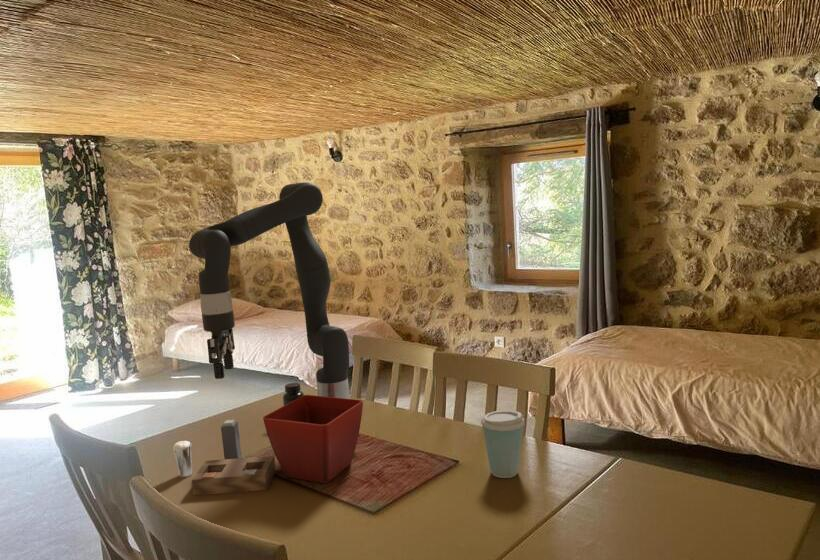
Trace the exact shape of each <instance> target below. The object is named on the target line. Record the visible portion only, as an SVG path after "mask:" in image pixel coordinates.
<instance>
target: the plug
mask: <svg viewBox="0 0 820 560" xmlns="http://www.w3.org/2000/svg"><path fill="white" fill-rule="evenodd" d="M235 420H236V419H226V420H225V421H224V422H223V424H222V425H221V426H220V432H221V438H222V439H221V440H222V450H223V456H224V457H223V458H224V459H237V458H243V456H242V448H241V438H240V432H239V431H240V429H239V421H235ZM224 459H223V460H224Z"/></svg>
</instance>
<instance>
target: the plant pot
mask: <svg viewBox="0 0 820 560" xmlns="http://www.w3.org/2000/svg"><path fill="white" fill-rule="evenodd" d="M363 405H364V401H363V400H361V399H353V398H350V399H345V398H335V397H324V396H318V395H314V394H313V395H311V394H304V396H301V397H299V398H298V399H296V400H294V401H292V402H290V403H288V404H286V405H285V406H284V405H283V406H281V407H279V408H277V409H276V410H274V411H271V412H270V413H268V414H266V415H264V416H263V417H262V419H263V423H264V427H265V431H266V434H267V437H268V439H269V443H270V445H271V448H272V451H273V453H274V457H275V458H276V460H277V461H278V464H279V465H280V468H281V469H282V471H283V473H284V475H285V476H286V477H287V478H292V479H297V480H304V481H308V482H315V483H321V484H327V483H329V482H331V480H333V479H334V478H335V477H337V475H339V474H340V473H342V471H345V469H347V467H349V466H350V465H351V464H352V462H353V459H354V454H355V451H356V447H357V443H358V441H359V440H358V439H359V435H360V430H361V429H360V428H361V423H362V416H363V407H364V406H363Z"/></svg>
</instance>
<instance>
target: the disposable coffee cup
mask: <svg viewBox="0 0 820 560" xmlns="http://www.w3.org/2000/svg"><path fill="white" fill-rule="evenodd" d="M480 421H481V422H480V424H481V426H482V432H483V438H484V442H485V447H486V453H487V459H488V463H489V469H490V472H491V474H492V476H494V477H496V478H499V479H500V478H501V479H510V478H513V477H515V476H517V475H518V472H519V469H520V458H521V452H522V451H521V449H522V442H523V434H524V426H525V425H526V423H525V419H524V417H523V414H522V413H521V412H520V411H515V410H505V409H504V410H495V411H491V412H489V413H486V414H484V415H483V416H482V418H481V420H480Z"/></svg>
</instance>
